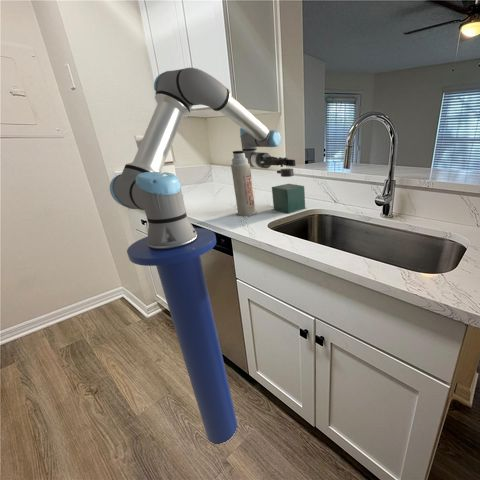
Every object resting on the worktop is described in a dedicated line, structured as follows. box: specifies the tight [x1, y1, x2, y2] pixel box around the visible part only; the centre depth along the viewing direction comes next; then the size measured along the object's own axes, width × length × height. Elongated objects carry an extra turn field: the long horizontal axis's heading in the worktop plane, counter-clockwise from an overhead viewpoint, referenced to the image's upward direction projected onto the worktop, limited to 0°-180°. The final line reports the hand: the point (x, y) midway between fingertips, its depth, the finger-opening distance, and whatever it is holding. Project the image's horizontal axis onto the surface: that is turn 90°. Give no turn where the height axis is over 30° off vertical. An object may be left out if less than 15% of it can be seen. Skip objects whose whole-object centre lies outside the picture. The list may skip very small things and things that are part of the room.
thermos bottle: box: [230, 150, 256, 217], centre depth 117 cm, size 8×8×28 cm
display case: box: [134, 135, 177, 176], centre depth 147 cm, size 11×11×35 cm
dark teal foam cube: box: [271, 183, 306, 214], centre depth 127 cm, size 13×11×11 cm
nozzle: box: [276, 167, 295, 178], centre depth 123 cm, size 10×6×3 cm, turn 49°
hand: (294, 162), depth 117 cm, fingers closed
